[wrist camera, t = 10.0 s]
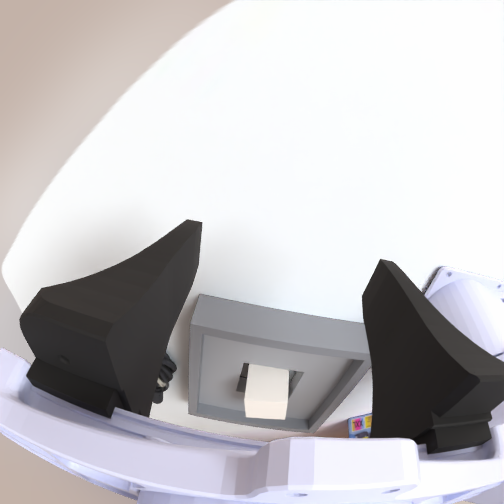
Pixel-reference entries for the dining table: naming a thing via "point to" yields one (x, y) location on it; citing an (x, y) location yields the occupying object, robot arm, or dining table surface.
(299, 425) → the walled box
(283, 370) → the white rectangular block
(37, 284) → the dining table surface
